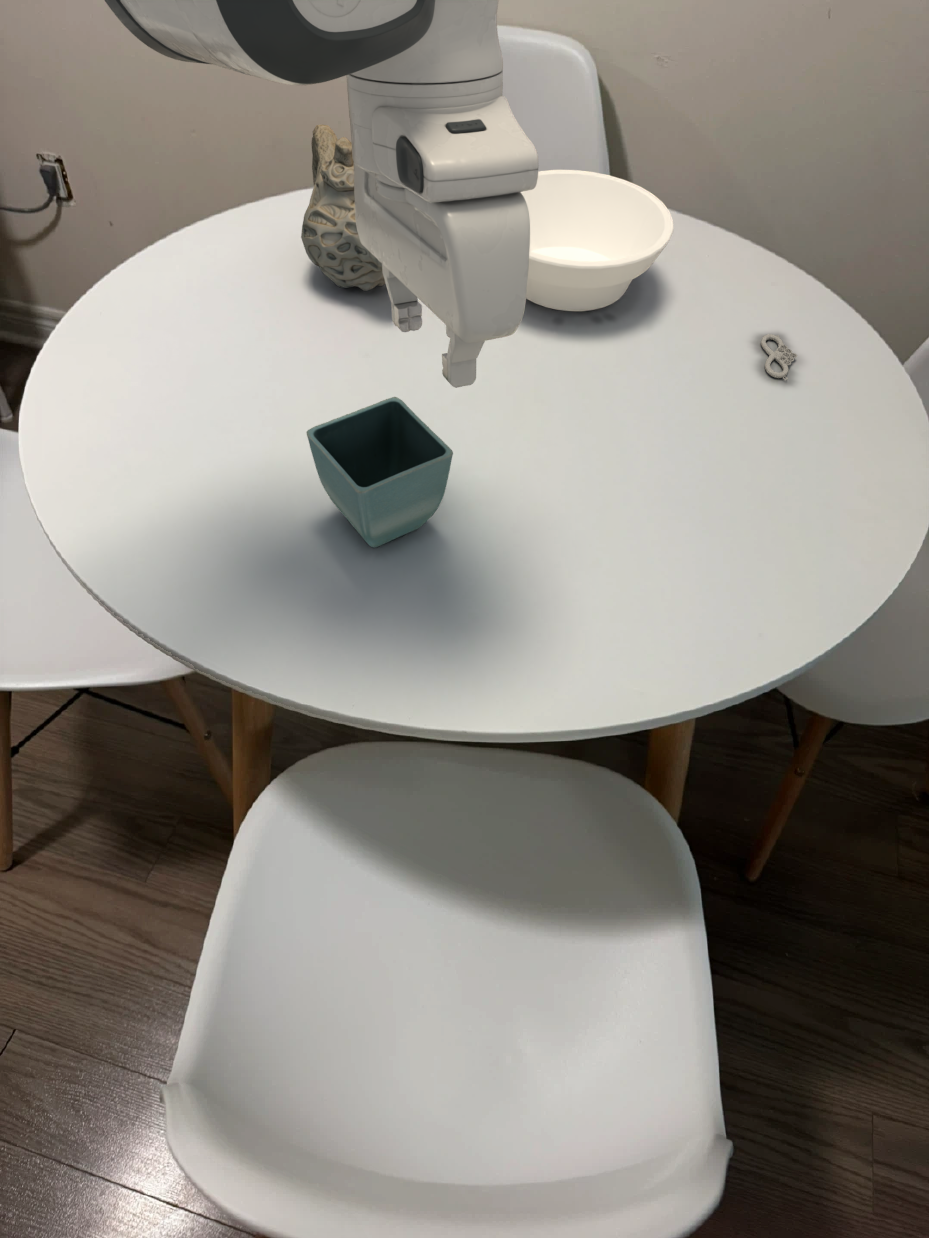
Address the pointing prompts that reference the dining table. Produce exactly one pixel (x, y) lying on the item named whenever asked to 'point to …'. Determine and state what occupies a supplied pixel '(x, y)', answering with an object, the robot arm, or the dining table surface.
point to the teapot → (336, 216)
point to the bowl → (590, 238)
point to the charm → (777, 356)
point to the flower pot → (381, 469)
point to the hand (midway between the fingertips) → (431, 353)
